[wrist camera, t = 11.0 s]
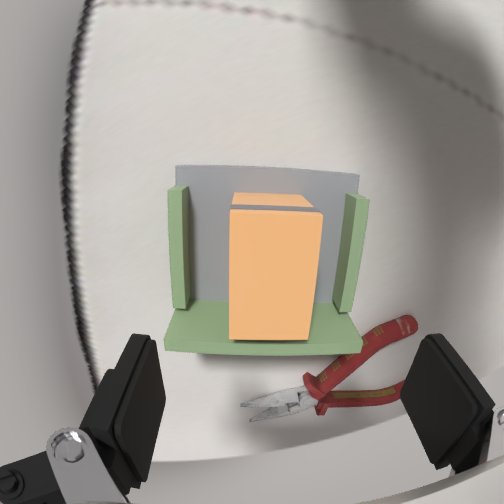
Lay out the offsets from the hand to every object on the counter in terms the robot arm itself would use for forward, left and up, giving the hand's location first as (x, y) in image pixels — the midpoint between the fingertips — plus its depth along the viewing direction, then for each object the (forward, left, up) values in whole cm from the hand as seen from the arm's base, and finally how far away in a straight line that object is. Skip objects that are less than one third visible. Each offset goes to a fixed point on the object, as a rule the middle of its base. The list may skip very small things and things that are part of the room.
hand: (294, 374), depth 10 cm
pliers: (+14, +9, -17) cm, 24 cm away
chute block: (0, 0, -15) cm, 15 cm away
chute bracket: (+1, 0, -16) cm, 16 cm away
